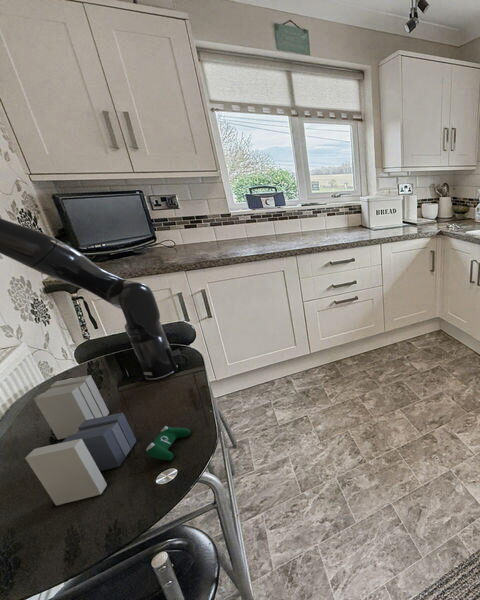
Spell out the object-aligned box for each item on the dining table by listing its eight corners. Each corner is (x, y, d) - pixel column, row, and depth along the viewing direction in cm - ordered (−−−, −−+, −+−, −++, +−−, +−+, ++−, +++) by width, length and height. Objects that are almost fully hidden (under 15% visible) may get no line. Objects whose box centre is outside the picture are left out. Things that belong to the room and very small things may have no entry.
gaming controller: (185, 439, 85) (163, 428, 83) (193, 429, 84) (170, 418, 82) (165, 468, 76) (139, 457, 74) (172, 458, 75) (147, 447, 73)
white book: (63, 495, 69) (34, 448, 64) (107, 484, 71) (81, 438, 66) (56, 505, 67) (24, 458, 62) (101, 494, 69) (73, 447, 64)
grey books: (100, 449, 81) (84, 418, 78) (136, 440, 83) (122, 411, 79) (79, 476, 74) (60, 444, 70) (119, 466, 75) (103, 434, 72)
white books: (77, 419, 93) (56, 381, 88) (109, 412, 95) (90, 374, 90) (57, 439, 86) (33, 399, 81) (93, 432, 87) (71, 392, 83)
